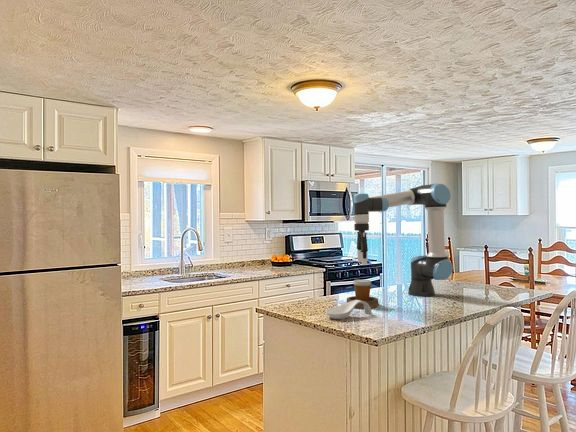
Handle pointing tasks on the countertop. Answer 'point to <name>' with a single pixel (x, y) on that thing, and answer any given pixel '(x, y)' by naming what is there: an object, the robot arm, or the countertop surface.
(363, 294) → the disposable coffee cup
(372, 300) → the brown round dish
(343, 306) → the spoon rest
